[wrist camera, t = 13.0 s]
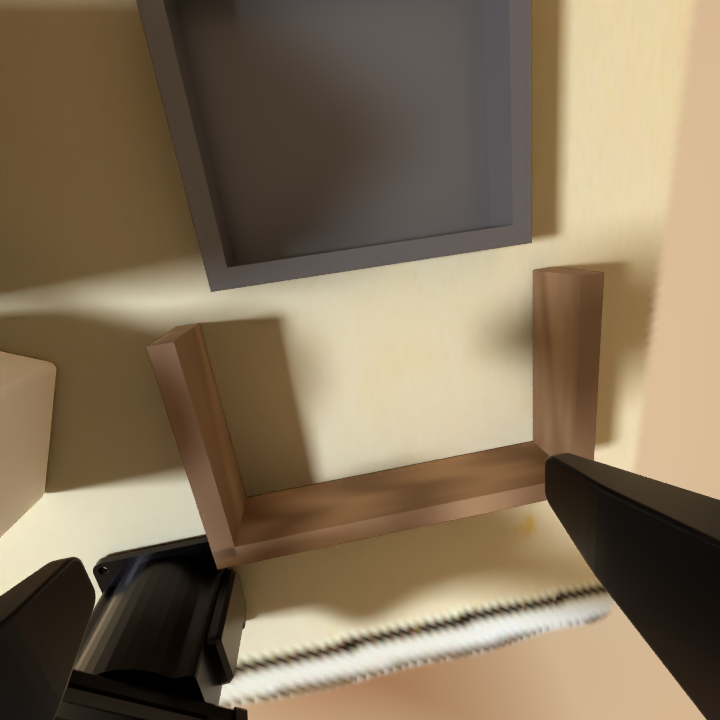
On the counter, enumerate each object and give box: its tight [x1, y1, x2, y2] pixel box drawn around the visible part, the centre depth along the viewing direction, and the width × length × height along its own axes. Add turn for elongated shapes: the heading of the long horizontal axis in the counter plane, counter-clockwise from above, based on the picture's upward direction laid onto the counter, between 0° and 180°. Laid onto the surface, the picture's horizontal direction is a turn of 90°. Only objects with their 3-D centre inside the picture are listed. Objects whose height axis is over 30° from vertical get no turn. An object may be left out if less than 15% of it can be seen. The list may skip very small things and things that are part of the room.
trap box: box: [137, 0, 532, 292], centre depth 15 cm, size 13×11×2 cm
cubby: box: [146, 267, 604, 570], centre depth 18 cm, size 18×10×4 cm, turn 97°
